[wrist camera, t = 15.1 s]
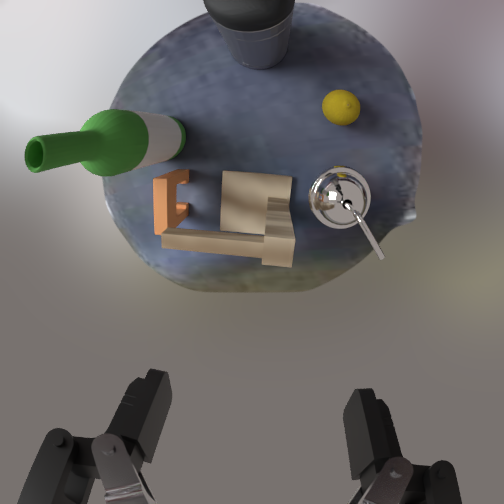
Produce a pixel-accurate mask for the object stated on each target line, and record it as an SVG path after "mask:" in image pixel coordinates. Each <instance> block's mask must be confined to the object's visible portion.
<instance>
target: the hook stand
mask: <svg viewBox="0 0 504 504" xmlns="http://www.w3.org/2000/svg"><path fill="white" fill-rule="evenodd" d="M291 184H292V176H284V175H274V174H264V173H252V172H239V171H223V177H222V196H221V219H220V230H222V231H233V232H244V233H254V234H265V235H264V236H259V235H248V234H238V233H227V232H216V231H205V230H193V229H181V228H169V227H168V228H167V229H166V230H164V231H163V232H162V233H161V240H162V248H168V249H178V250H187V251H197V252H207V253H217V254H227V255H237V256H247V257H257V258H262V264H264V265H274V266H284V267H291V266H292V259H293V252H294V245H295V235H294V230H293V225H292V221H291V216H290V211H289V202H290V193H291Z"/></svg>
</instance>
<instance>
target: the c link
mask: <svg viewBox="0 0 504 504" xmlns="http://www.w3.org/2000/svg"><path fill="white" fill-rule="evenodd" d="M188 182H189V169H177V170H174V171H172V172H169V173H166V174H164V175H161V176H159V177H156V178H153V198H154V227H155V234H156V235H161V233H162V232H163V231H164V230H166V229H167V228H168V227H169V228H176V227H177V226H178V225H179V224H180V223H181V222H182V221H183V220H184V219H185V218H186V217H187V216H188V215H189V203H184V202H177V203H176V185H177V184H179V183H181V184H187V183H188Z"/></svg>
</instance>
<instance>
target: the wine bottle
mask: <svg viewBox="0 0 504 504" xmlns="http://www.w3.org/2000/svg"><path fill="white" fill-rule="evenodd" d="M185 141H186V133H185V129H184V127H183V125H182V124H181V123H180V122H179V121H178V120H177V119H175V118H173V117H170V116H165V115H160V114H153V113H146V112H138V111H129V110H117V109H111V110H104V111H101V112H100V113H97V114H95V115H93V116H92V117H91V118H90V119H89V120H87V121H86V123H85V124H84V125H83V127H82V128H81V130H80V131H77V132H68V133H58V134H50V135H42V136H36V137H33V138H32V139H31V140H30V141H29V142H28V144H27V146H26V149H25V162H26V165H27V167H28V169H29V170H30V171H31V172H34V173H38V172H41V171H45V170H49V169H53V168H57V167H61V166H65V165H70V164H74V163H78V162H81V164H82V165H83V166H84V167H85V169H87V170H88V171H90V172H91V173H93V174H95V175H99V176H114V175H118V174H121V173H125V172H128V171H131V170H135V169H138V168H142V167H145V166H149V165H153V164H156V163H160V162H164V161H167V160H170V159H172V158H174V157H176V156H177V155H178V154H179V153H180V152H181V151H182V149H183V147H184V144H185Z"/></svg>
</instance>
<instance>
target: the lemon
mask: <svg viewBox="0 0 504 504" xmlns="http://www.w3.org/2000/svg"><path fill="white" fill-rule="evenodd" d="M322 109H323V113H324V115H325V117H326V118H327V119H328V120H329V121H330V122H332V123H334V124H336V125H348V124H351V123H352V122H354V121H355V120H356V119H357V118H358V116H359V114H360V103H359V101H358V99H357V98H356V96H355V95H354V94H352V93H351V92H349V91H346V90H334V91H332V92H330V93H329V94H327V95H326V97H325V98H324V100H323V103H322Z"/></svg>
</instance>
